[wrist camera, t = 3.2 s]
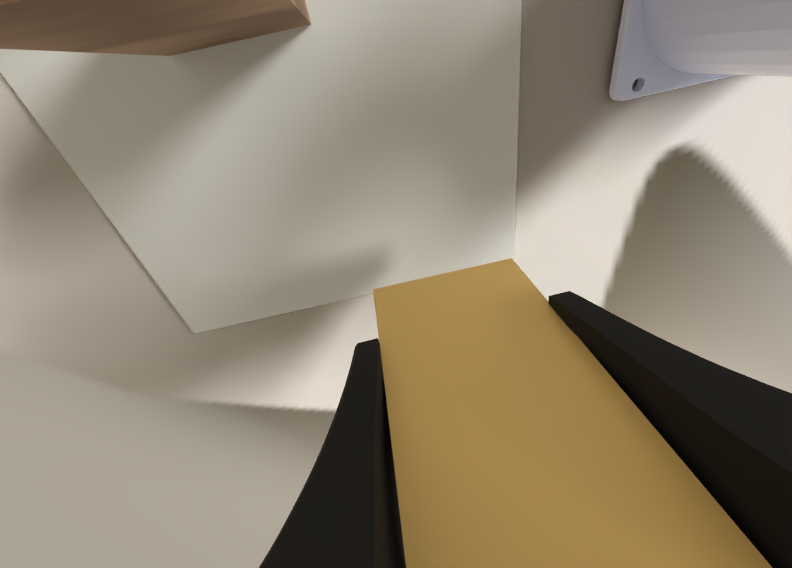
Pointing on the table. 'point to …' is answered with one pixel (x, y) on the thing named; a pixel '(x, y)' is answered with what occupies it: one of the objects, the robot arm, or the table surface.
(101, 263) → the table surface
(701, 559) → the domino
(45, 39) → the domino
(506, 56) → the mat
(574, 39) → the table surface
